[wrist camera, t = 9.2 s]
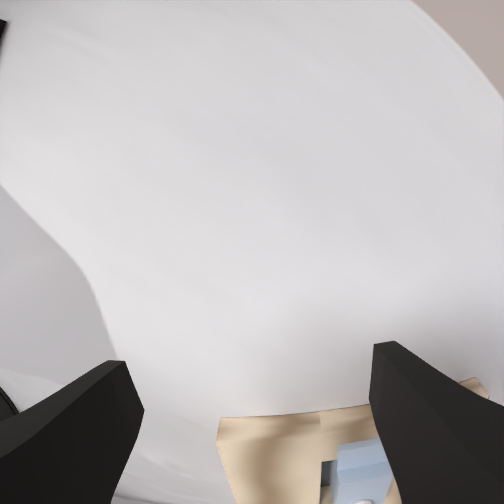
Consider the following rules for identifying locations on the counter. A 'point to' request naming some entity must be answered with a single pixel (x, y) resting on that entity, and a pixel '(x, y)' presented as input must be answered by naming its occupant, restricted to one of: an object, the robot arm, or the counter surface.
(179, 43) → the counter surface
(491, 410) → the robot arm
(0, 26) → the graphics card
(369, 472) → the block
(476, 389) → the board
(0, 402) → the french press
